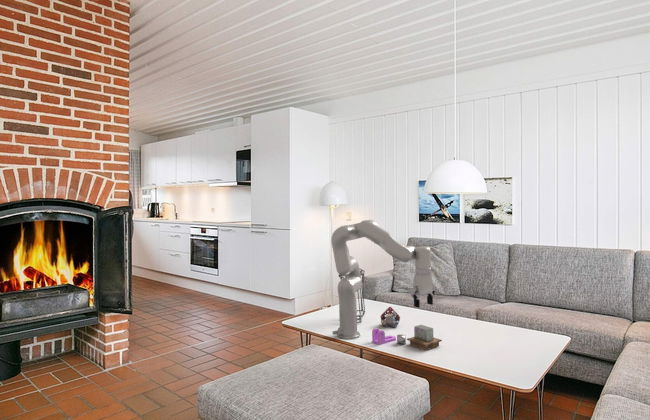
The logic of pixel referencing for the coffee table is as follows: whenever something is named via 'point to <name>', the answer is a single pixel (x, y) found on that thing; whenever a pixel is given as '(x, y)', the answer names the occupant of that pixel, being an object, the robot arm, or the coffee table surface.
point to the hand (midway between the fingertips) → (423, 305)
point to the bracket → (381, 337)
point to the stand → (424, 343)
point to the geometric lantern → (358, 297)
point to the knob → (401, 339)
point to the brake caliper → (390, 318)
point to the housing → (423, 333)
